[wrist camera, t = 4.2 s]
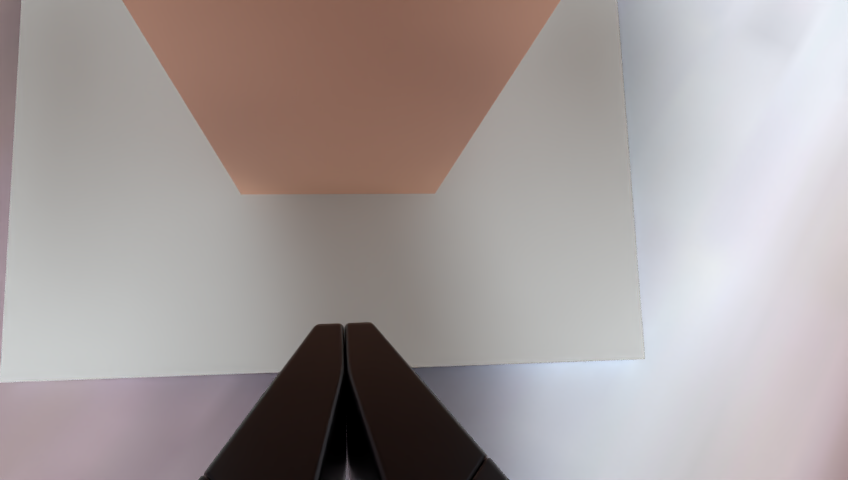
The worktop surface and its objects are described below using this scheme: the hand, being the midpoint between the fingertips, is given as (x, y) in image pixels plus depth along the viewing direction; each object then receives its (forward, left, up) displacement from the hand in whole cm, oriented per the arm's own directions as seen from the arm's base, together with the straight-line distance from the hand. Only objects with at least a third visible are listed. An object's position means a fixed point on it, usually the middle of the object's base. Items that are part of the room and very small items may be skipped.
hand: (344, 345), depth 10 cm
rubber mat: (+10, -6, -8) cm, 14 cm away
